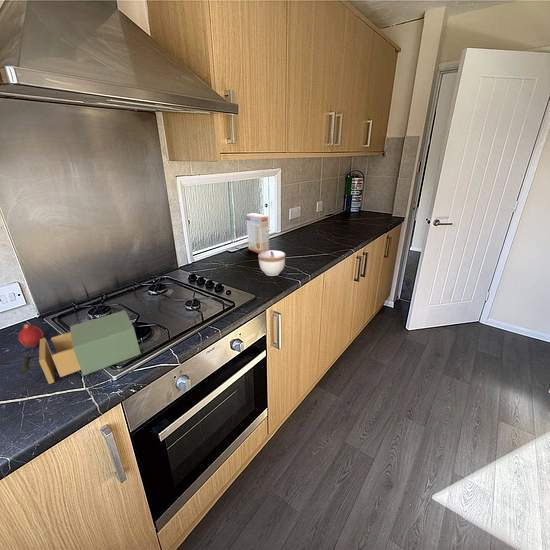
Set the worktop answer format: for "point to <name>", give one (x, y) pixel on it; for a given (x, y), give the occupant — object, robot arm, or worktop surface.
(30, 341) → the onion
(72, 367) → the wooden pull-out drawer
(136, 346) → the green box
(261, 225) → the cracker box
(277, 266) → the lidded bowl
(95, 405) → the worktop surface
